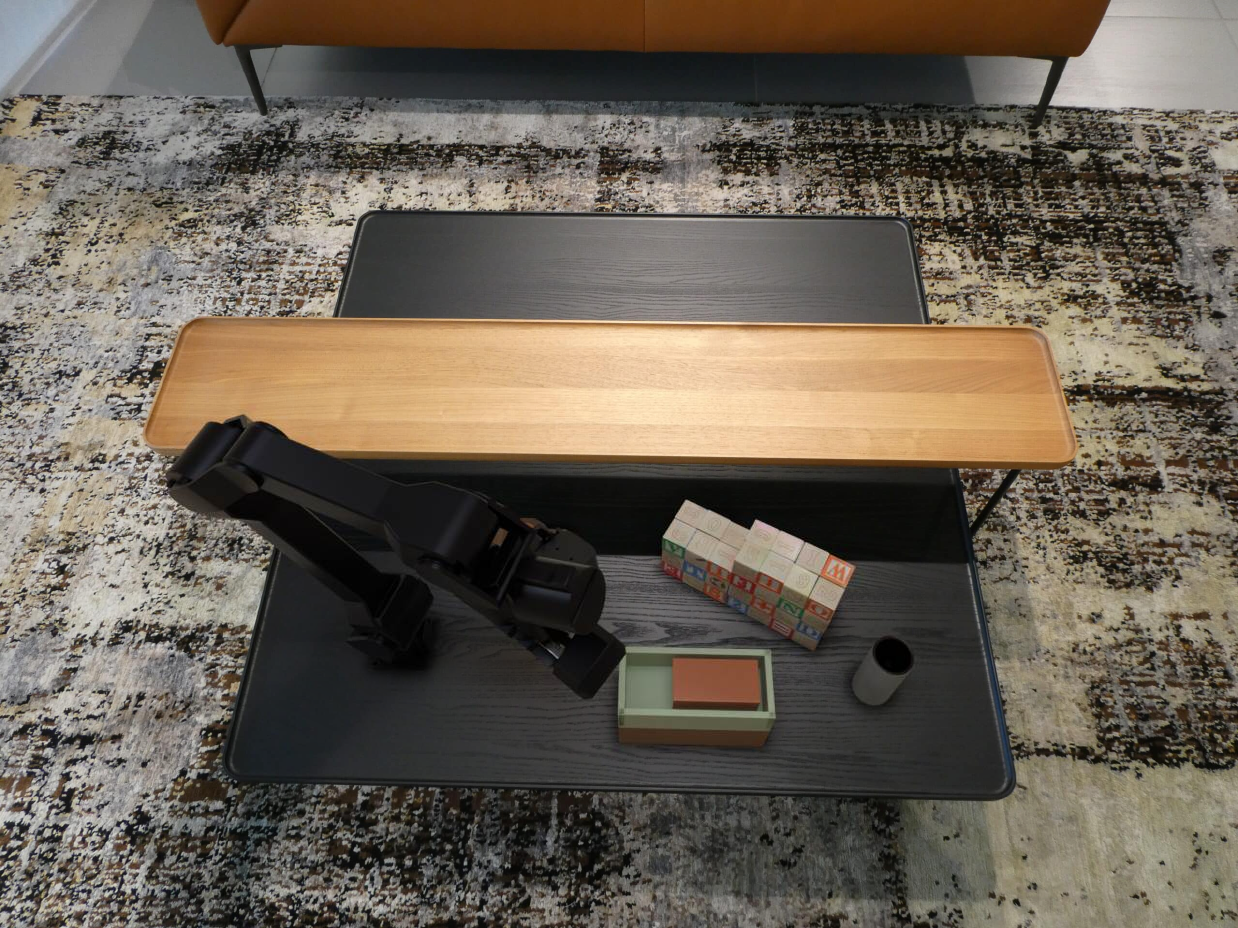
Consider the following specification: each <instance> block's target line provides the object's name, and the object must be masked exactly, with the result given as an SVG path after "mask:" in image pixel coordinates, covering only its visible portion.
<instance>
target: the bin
mask: <svg viewBox="0 0 1238 928" xmlns="http://www.w3.org/2000/svg"><path fill="white" fill-rule="evenodd" d="M673 658H692V659H737V660H758V673H759V689H760V704H759V707H758V709H757V711H720V710H679V709H671V669H672V660H673ZM772 664H773V663H772V650H771V649H757V648H755V649H754V648H715V647H713V648H712V647H711V648H710V647H709V648H708V647H668V646H666V647H665V646H662V647H661V646H626V655H625V656H624V657H623V659H622V660H621V661H620V663H619V664H618V695H617V697H618V698H617V723H618V724H617V725H618V726H617V727H618V742H619V744H647V745H648V744H649V745H682V746H683V745H687V746H689V745H690V746H722V747H723V746H726V747H763V746H764V744H765V742H766V741H767V737H768V736H769V734H770V732H771V729H772V727H773V725H774V722H775V720H776V718H777V717H776V707H775V705H776V704H775V691H774V678H773V666H772Z"/></svg>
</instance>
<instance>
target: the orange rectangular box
mask: <svg viewBox="0 0 1238 928" xmlns="http://www.w3.org/2000/svg"><path fill="white" fill-rule="evenodd" d="M759 704H760V689H759V673H758V660H737V659H692V658H673V660H672V669H671V709H679V710H720V711H757V709H758V707H759Z"/></svg>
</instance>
